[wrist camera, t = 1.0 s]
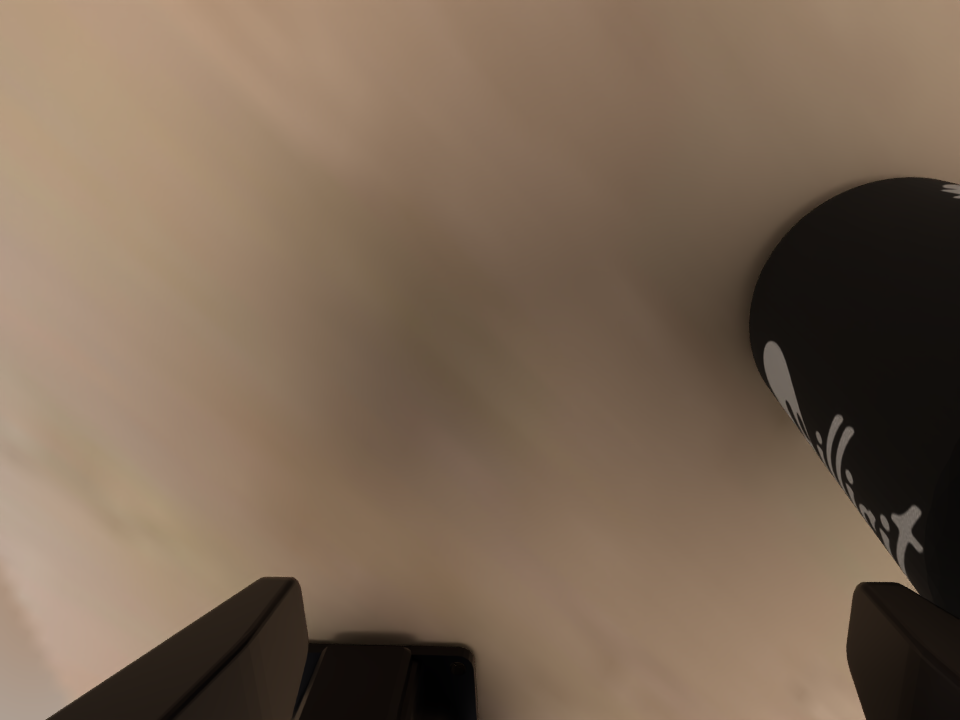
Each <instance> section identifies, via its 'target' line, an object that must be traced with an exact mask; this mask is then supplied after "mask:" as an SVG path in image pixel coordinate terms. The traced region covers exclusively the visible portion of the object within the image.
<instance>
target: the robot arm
mask: <svg viewBox="0 0 960 720" xmlns="http://www.w3.org/2000/svg"><path fill="white" fill-rule="evenodd" d="M846 652H847V660H848V665H849V669H850V672H851V675H852V678H853V681H854V684H855V687H856V691H857V694H858V697H859V700H860V703H861V706H862V709H863V712H864V715H865V718H866V720H960V618H958V617H956V616H954V615H953V614H951V613H949V612H948V611H946V610H944V609H943V608H941V607H939V606H937V605H936V604H934V603H932V602H931V601H929V600H927V599H926V598H924V597H922V596H920V595H919V594H917V593H915V592H914V591H912V590H910V589H909V588H907V587H905V586H903V585H901V584H899V583H895V582H862V583H860V584H859V585H857V586H856V588H855V591H854V593H853V599H852V606H851V614H850V621H849V629H848V637H847V645H846ZM455 662H459V663H462V664H463V665H464V666H456V665H454V664H453V663H455ZM46 720H478V703H477V686H476V669H475V658H474V655H473V654H472V653H471V652H470V651H469V650H467V649H466V648H462V647H444V646H395V645H346V644H308V632H307V625H306V618H305V611H304V605H303V598H302V591H301V587H300V584H299V582H298V581H297V580H296V579H295V578H293V577H263V578H260V579H258V580H257V581H255V582H254V583H252V584H251V585H249V586H248V587H246V588H245V589H243V590H242V591H240V592H239V593H237V594H236V595H234V596H232V597H231V598H229V599H228V600H226V601H225V602H223V603H222V604H220V605H219V606H217V607H216V608H214V609H213V610H211V611H210V612H208V613H207V614H205V615H204V616H202V617H201V618H199V619H198V620H196V621H195V622H193V623H192V624H190V625H189V626H187V627H186V628H184V629H182V630H181V631H179V632H178V633H176V634H175V635H173V636H172V637H170V638H169V639H167V640H166V641H164V642H163V643H161V644H160V645H158V646H157V647H155V648H154V649H152V650H151V651H149V652H148V653H146V654H145V655H143V656H142V657H140V658H139V659H137V660H136V661H134V662H132V663H131V664H129V665H128V666H126V667H125V668H123V669H122V670H120V671H119V672H117V673H116V674H114V675H113V676H111V677H110V678H108V679H107V680H105V681H104V682H102V683H101V684H99V685H98V686H96V687H95V688H93V689H92V690H90V691H88V692H87V693H85V694H84V695H82V696H81V697H79V698H78V699H76V700H75V701H73V702H72V703H70V704H69V705H67V706H66V707H64V708H63V709H61V710H60V711H58V712H57V713H55V714H54V715H52V716H51V717H49V718H47V719H46Z"/></svg>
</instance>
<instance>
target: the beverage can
mask: <svg viewBox="0 0 960 720" xmlns="http://www.w3.org/2000/svg"><path fill="white" fill-rule="evenodd" d="M749 333H750V342H751V348H752V352H753V356H754V359H755V363H756V365H757V368H758V370H759V372H760V374H761V376H762V378H763V380H764V382H765V383H766V385H767V386H768V388H769V389H770V391H771V392H772V393H773V395H774V396H775V397H776V399H777V400H778V401H779V403H780V404H781V406H782V407H783V408H784V410H785V411H786V412H787V414H788V415H789V417H790V418H791V419H792V421H793V422H794V423H795V425H796V426H797V427H798V429H799V430H800V432H801V433H802V434H803V436H804V437H805V438H806V440H807V441H808V442H809V444H810V445H811V447H812V448H813V449H814V451H815V452H816V453H817V455H818V456H819V458H820V459H821V460H822V462H823V463H824V464H825V466H826V467H827V468H828V470H829V471H830V473H831V474H832V475H833V477H834V478H835V479H836V481H837V482H838V484H839V485H840V486H841V488H842V489H843V490H844V492H845V493H846V494H847V496H848V497H849V499H850V500H851V501H852V503H853V504H854V505H855V507H856V508H857V509H858V511H859V512H860V514H861V515H862V516H863V518H864V519H865V520H866V522H867V523H868V525H869V526H870V527H871V529H872V530H873V531H874V533H875V534H876V535H877V537H878V538H879V540H880V541H881V542H882V544H883V545H884V546H885V548H886V549H887V551H888V552H889V553H890V555H891V556H892V557H893V559H894V560H895V561H896V563H897V564H898V566H899V567H900V568H901V570H902V571H903V572H904V574H905V575H906V576H907V578H908V579H909V581H910V582H911V583H912V585H913V586H914V587H915V589H916V590H917V592H918V593H919V594H920V596H922V597H924V598H926V599H927V600H929V601H931V602H932V603H934V604H936V605H937V606H939V607H941V608H943V609H944V610H946V611H948V612H949V613H951V614H953V615H954V616H956V617H958V618H960V185H959V184H954V183H950V182H946V181H941V180H936V179H929V178H915V177H907V178H894V179H886V180H881V181H876V182H872V183H868V184H865V185H862V186H859V187H856V188H853V189H851V190H848V191H846V192H844V193H841V194H839V195H837V196H835V197H833V198H832V199H830V200H828V201H827V202H825V203H823V204H821V205H820V206H818V207H817V208H815V209H814V210H813V211H811V212H810V213H809V214H807V215H806V216H805V217H803V218H802V219H801V220H800V221H799V222H798V223H797V224H796V225H795V226H794V227H793V228H792V229H791V230H790V231H789V232H788V233H787V234H786V235H785V236H784V237H783V238H782V240H781V241H780V242H779V244H778V245H777V247H776V248H775V249H774V251H773V252H772V253H771V255H770V257H769V259H768V260H767V262H766V264H765V266H764V268H763V269H762V272H761V274H760V277H759V279H758V282H757V284H756V287H755V291H754V295H753V298H752V302H751V309H750V320H749Z"/></svg>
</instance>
